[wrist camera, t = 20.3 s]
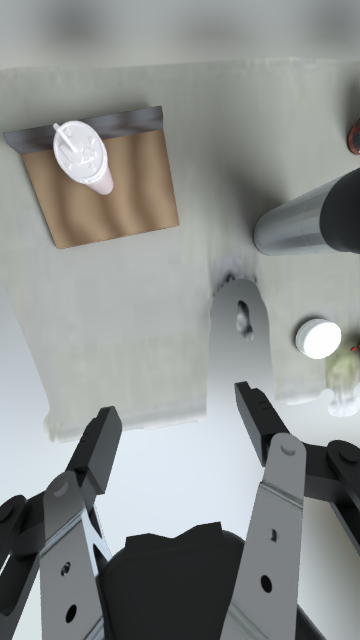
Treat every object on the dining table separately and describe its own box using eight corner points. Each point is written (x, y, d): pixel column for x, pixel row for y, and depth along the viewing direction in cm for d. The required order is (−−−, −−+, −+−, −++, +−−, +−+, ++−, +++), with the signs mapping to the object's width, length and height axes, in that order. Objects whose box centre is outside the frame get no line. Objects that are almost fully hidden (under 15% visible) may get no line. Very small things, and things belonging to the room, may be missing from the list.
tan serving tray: (161, 124, 32) (160, 103, 28) (178, 225, 37) (180, 221, 33) (23, 148, 31) (1, 130, 27) (61, 249, 36) (47, 247, 32)
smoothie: (83, 157, 31) (24, 79, 18) (121, 164, 32) (93, 95, 19) (84, 200, 33) (32, 158, 20) (120, 206, 34) (94, 169, 21)
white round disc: (325, 352, 50) (337, 358, 47) (291, 353, 50) (300, 360, 46) (334, 317, 47) (347, 321, 44) (298, 318, 47) (308, 323, 43)
